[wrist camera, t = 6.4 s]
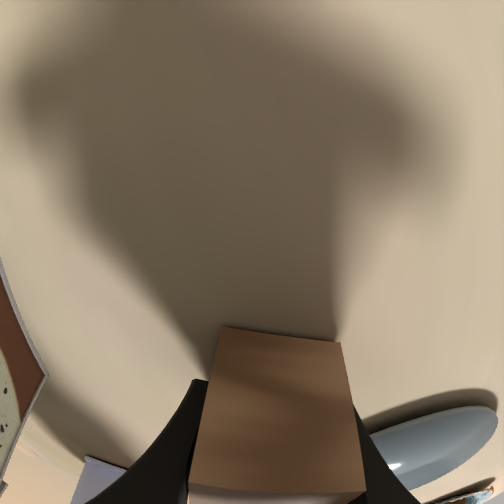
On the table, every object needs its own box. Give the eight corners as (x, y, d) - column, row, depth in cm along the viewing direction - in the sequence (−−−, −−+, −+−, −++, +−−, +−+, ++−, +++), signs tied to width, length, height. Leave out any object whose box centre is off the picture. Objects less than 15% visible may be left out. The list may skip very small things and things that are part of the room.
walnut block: (212, 396, 13) (190, 514, 8) (221, 326, 11) (188, 481, 6) (307, 408, 13) (312, 524, 8) (340, 342, 11) (366, 490, 6)
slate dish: (274, 494, 20) (273, 504, 20) (343, 403, 13) (346, 419, 12) (423, 483, 21) (424, 491, 20) (527, 388, 13) (532, 397, 12)
